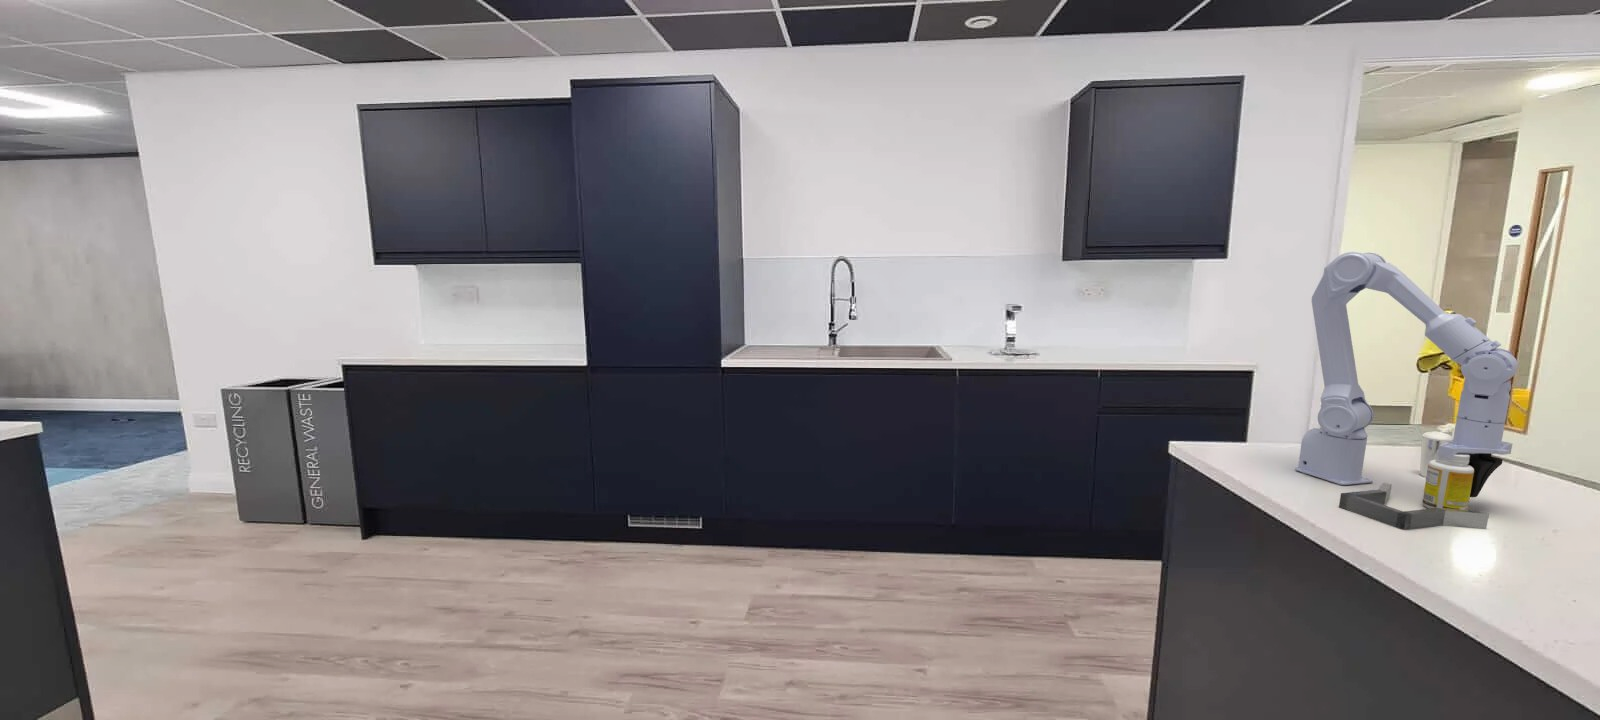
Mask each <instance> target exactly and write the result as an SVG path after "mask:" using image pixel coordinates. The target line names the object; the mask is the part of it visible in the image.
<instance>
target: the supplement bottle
mask: <svg viewBox="0 0 1600 720" xmlns="http://www.w3.org/2000/svg"><path fill="white" fill-rule="evenodd" d="M1469 458H1470V455H1468V454H1466V453H1456V455H1454V456H1453V459H1449V458H1445V457H1441V456H1438V450H1437V454H1436V459H1437V460H1431V461H1430V462H1429V464H1428V469H1427V476H1426V477H1425V483H1424V490H1423V495H1422V505H1423V507H1425V508H1426V509H1430V508H1448V509H1461V510H1469V503H1470V498H1471V497H1470V493H1471V487H1472V481H1473V475H1474V468H1473V467H1471V466H1470V465H1467V464H1469Z"/></svg>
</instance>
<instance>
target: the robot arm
mask: <svg viewBox="0 0 1600 720" xmlns="http://www.w3.org/2000/svg"><path fill="white" fill-rule="evenodd" d="M1365 289H1368V290H1373V291H1376V292H1377V291H1378V292H1381V293H1385V294H1388V295H1389V296H1391V297H1392V298H1393V299H1394V300H1395V301H1397V302H1398V303H1399V304H1401V306H1403V308H1405V309H1407V311H1409V312H1410V313H1411V314H1412V315H1414V316H1415V317H1416V318H1417V319H1418V320H1420V321H1421V322H1422V324H1424V325H1425V331H1424V336H1425V337H1426V338H1427V339H1428V340H1430V342H1432V343H1433V344H1434V345H1435V346H1436V347H1437V348H1438V349H1440V351H1441V352H1442V353H1444V354H1445V355H1446V356H1447V357H1448V358H1449V359H1450V360H1451V361H1453V363H1455V364H1460V370H1461V374H1462V376H1463V377H1464V382H1463V388H1462V390H1461V391H1460V398H1459V404H1458V409H1457V416H1456V421H1455V426H1454V431H1453V432H1454V433H1453V437H1452V438H1453V440H1451V441H1450V442H1448V443H1446V444H1444V445H1439V450H1438V456H1441V457H1445V458H1449V459H1453V456H1454V455H1456V453H1466V454H1468V455H1470V458H1469V464H1467V465H1470V466H1471V467H1473V468H1474V475H1473V481H1472V487H1471V493H1470V498H1477V497H1478V496H1479V494H1480V493H1481V491H1482V489H1483V487H1484V485H1485V484H1486V482H1487V480H1488V479H1489V477H1490V476H1491V475H1493V472H1495V470H1497V469H1498V468H1500V467H1501V465H1503V460H1504V459H1503V458H1499V457H1495V456H1492V455H1493V454H1496V455H1500V456H1501V455H1502V456H1503V455H1504V456H1505V455H1511V454H1512V449H1513V443H1512V442H1508V441H1503V436H1504V433H1505V432H1504V431H1505V424H1506V421H1507V416H1508V409H1509V405H1510V400H1511V399H1510V398H1511V396H1510V391H1511V388H1512V384H1511V383H1512V380H1509V379H1511V378H1513V377H1514V375H1516V373H1517V372H1518V368H1519V363H1518V360H1517V359H1516V357H1514V355H1513V353H1512V352H1511V351H1510V350H1507V349H1505V348H1499V347H1501V346H1502V344H1501V343H1500V342H1499V341H1498V340H1494V341H1493V340H1492V339H1490V338H1489V337H1488V336H1487V335H1486V334H1484V333H1483V332H1482V331H1481V330H1480V329H1478V328H1477V327H1476V326H1475V325H1476V324H1477V323H1478V322H1477V321H1476V320H1475V319H1474V318H1473V317H1465V316H1464V315H1462V314H1460V313H1446V311H1444V310H1443V309H1442V308H1441V307H1440V306H1439V305H1438V304H1437V303H1436V302H1435V301H1434V300H1432V299H1431V298H1430V296H1429V295H1427V294H1426V293H1425V291H1423V290H1422V289H1421V288H1420V287H1419V286H1418V285H1417V284H1416V283H1415V282H1413V280H1412V279H1410V278H1409V277H1408V276H1407V274H1405V273H1404V272H1403V271H1402V270H1400V269H1399V267H1397V266H1395V265H1394V264H1392V263H1390V262H1387V261H1386V260H1385V259H1384V257H1383V256H1381V255H1379V254H1377V253H1375V252H1374V253H1373V252H1358V251H1348V252H1344V253H1342V254H1340V255H1338V256H1337V257H1336V258H1334V259H1333V260H1332V261H1331V262H1329V264H1327V265H1326V266H1325V267H1324V268H1323V274H1322V277H1321V278H1320V281H1319V282H1318V284H1317V286H1316V288H1315V290H1314V292H1313V294H1312V297H1311V306H1312V313H1313V319H1314V325H1315V333H1316V339H1317V346H1318V352H1319V353H1318V354H1319V359H1320V365H1321V366H1320V367H1321V371H1322V372H1321V373H1322V379H1323V384H1324V385H1323V386H1324V388H1323V391H1322V393H1321V397H1320V405H1321V406H1320V409H1319V411H1318V413H1317V422H1318V425H1319V426H1320V427H1319V428H1317V427H1315V428H1311V429H1308V430H1307V431H1306V432H1305V434H1304V435H1303V437H1302V439H1301V443H1300V452H1299V458H1298V459H1299V460H1298V467H1295V468H1294V470H1295V471H1297V472H1301V473H1303V474H1306V475H1310V476H1312V477H1316V478H1319V479H1322V480H1325V481H1329V482H1331V483H1335V484H1338V485H1341V486H1348V485H1358V484H1368V483H1370V484H1371V483H1373V482H1374V480H1373V479H1371V478H1368V477H1364V476H1362V474H1363V470H1364V469H1363V468H1364V463H1365V462H1364V461H1365V455H1366V449H1367V442H1368V434H1367V432H1366V427H1369V425H1371V423H1372V422H1373V420H1374V411H1373V408H1372V407H1371V405H1370V404H1369V403H1368V401H1367V400H1366V398H1365V392H1364V390H1363V389H1362V387H1361V386H1360V384H1359V379H1358V375H1357V374H1358V371H1357V367H1356V361H1355V360H1356V359H1355V353H1354V346H1353V341H1352V334H1351V326H1350V322H1349V321H1350V320H1349V315H1348V309H1347V304H1348V303H1349V302H1350V301H1352V299H1353V298H1355V297H1356V296H1357V295H1358V294H1359V293H1360V292H1361V291H1363V290H1365Z"/></svg>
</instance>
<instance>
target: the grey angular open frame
mask: <svg viewBox="0 0 1600 720" xmlns="http://www.w3.org/2000/svg"><path fill="white" fill-rule="evenodd" d="M1392 488H1393V484H1392V483H1388V482H1382V483H1381V485H1379V487H1378V488H1377V489H1370V490H1368V489H1367V490H1360V491H1350V492H1349V491H1348V492H1342V493H1340V495H1339V496H1340V497H1339V503H1338V507H1339V508H1341V509H1344V510H1347V511H1350V512H1351V513H1352V512H1353V513H1355V514H1358V515H1361V516H1364V517H1366V518H1368V519H1372V520H1375V521H1378V522H1380V523H1384V524H1386V525H1389V526H1392V527H1395V528H1397V529H1400V530H1404V531H1406V530H1414V529H1422V528H1429V527H1430V528H1432V527H1439V526H1446V527H1447V526H1448V527H1449V526H1451V527H1461V528H1472V529H1483V530H1484V529H1485V530H1487V527H1488V521H1489V515H1490V514H1489V513H1488V512H1485V511H1483V510H1475V509H1474V510H1471V509H1468V510H1461V509H1448V508H1430V509H1429V508H1424V509H1414V510H1406V511H1403V510H1399V509H1397V508H1394V507H1391V506H1388V505H1386V504H1387V502H1388V501H1389V500H1390V499H1391V493H1392Z"/></svg>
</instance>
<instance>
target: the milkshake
mask: <svg viewBox="0 0 1600 720" xmlns="http://www.w3.org/2000/svg"><path fill="white" fill-rule="evenodd" d="M1417 427H1418V430H1419V432H1420V435H1421V447H1420V449H1421V450H1420V467H1419V475H1420V476H1422V477H1425V478H1426V476H1427V469H1428V464H1429V462H1430V461H1431V460H1437V459H1436V454H1437V450H1439V445H1444V444H1446V443H1448V442H1450V441H1451V440H1453V437H1452V435H1451V434H1447V433H1445V432H1443V431H1437V430H1432V431H1426V432H1424V433H1422V431H1421V429H1420V426H1419V425H1417Z"/></svg>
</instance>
